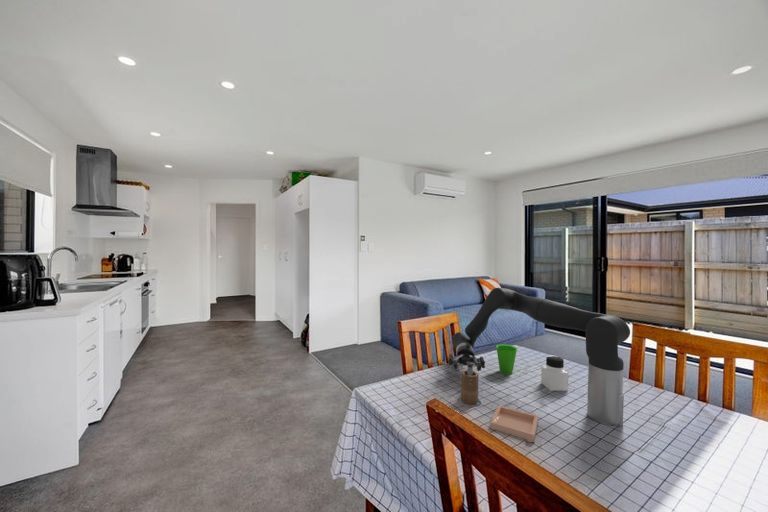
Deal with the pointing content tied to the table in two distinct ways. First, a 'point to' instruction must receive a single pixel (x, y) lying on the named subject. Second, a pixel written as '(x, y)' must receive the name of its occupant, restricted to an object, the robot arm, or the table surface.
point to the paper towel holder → (470, 373)
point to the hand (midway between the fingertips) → (467, 367)
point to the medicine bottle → (554, 374)
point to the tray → (515, 423)
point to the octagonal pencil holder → (469, 388)
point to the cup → (506, 358)
